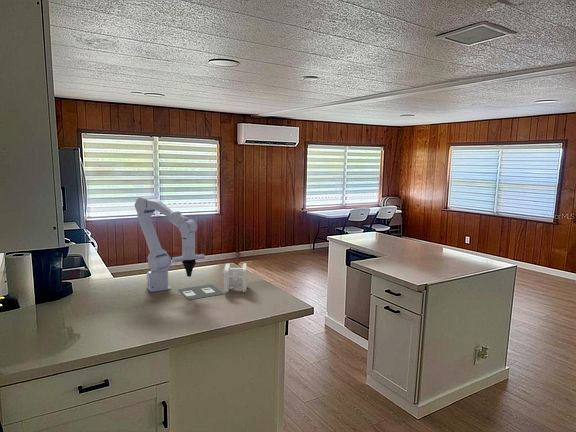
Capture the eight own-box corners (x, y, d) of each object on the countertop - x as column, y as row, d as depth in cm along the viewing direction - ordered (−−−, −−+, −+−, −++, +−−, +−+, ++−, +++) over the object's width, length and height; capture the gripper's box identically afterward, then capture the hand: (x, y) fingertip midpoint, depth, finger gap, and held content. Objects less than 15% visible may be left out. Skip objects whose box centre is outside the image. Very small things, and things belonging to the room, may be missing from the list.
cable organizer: (246, 295, 180) (246, 270, 179) (222, 295, 179) (223, 270, 178) (246, 285, 195) (246, 262, 194) (224, 285, 194) (225, 262, 193)
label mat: (188, 300, 173) (188, 299, 173) (177, 289, 186) (177, 289, 186) (224, 294, 181) (224, 293, 181) (211, 284, 195) (211, 284, 195)
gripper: (175, 250, 171) (175, 280, 173) (207, 247, 178) (207, 276, 180) (170, 247, 177) (171, 276, 179) (201, 244, 184) (202, 272, 186)
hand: (188, 276), depth 180 cm, fingers closed
